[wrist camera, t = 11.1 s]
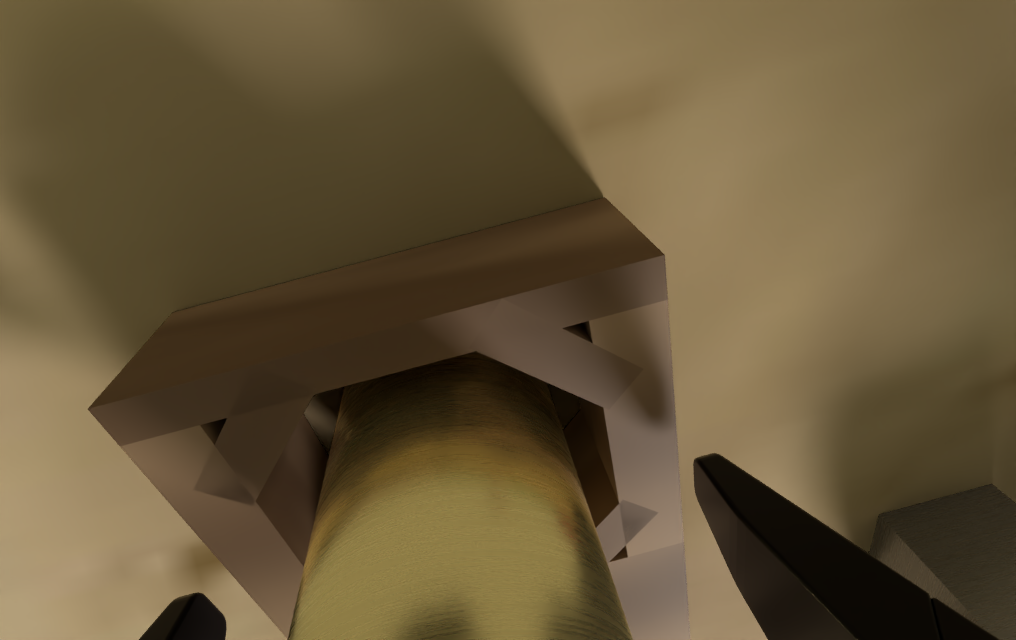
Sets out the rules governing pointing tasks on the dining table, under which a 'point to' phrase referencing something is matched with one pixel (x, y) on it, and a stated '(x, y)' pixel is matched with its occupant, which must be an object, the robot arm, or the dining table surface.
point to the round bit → (454, 516)
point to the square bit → (958, 553)
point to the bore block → (408, 344)
